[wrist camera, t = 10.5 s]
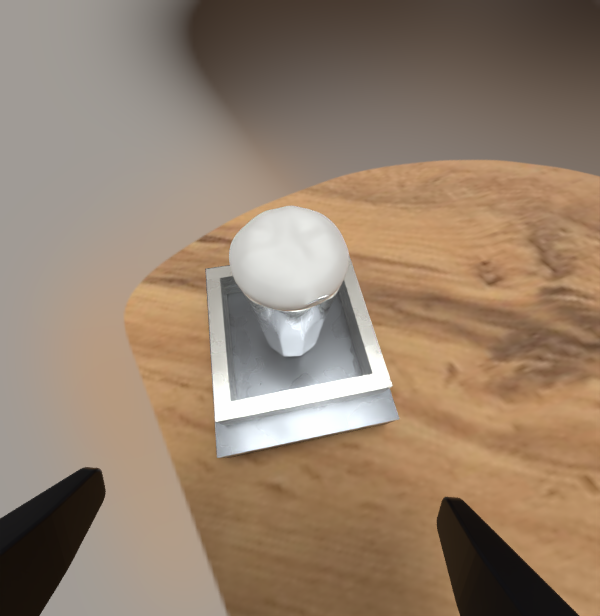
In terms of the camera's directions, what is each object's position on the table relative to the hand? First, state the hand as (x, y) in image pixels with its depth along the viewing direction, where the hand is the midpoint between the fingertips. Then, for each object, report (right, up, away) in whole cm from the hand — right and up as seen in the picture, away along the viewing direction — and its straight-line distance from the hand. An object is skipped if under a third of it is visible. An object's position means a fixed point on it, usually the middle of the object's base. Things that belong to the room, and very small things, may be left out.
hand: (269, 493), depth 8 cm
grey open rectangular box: (0, +2, +13) cm, 14 cm away
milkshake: (0, +3, +11) cm, 11 cm away
